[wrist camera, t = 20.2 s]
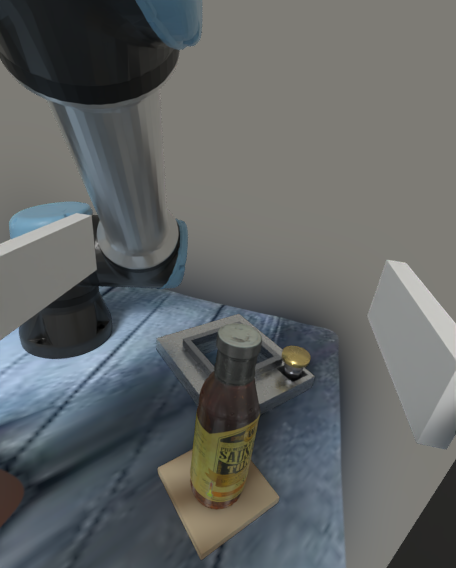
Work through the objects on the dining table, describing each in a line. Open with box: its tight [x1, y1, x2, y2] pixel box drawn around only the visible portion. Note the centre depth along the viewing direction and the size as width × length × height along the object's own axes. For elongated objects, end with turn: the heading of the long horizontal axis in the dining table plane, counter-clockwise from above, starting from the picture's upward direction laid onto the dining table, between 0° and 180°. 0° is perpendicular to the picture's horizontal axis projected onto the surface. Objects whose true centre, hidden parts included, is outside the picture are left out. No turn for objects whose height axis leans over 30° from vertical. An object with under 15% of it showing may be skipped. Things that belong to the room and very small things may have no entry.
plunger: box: [281, 346, 310, 382], centre depth 52 cm, size 4×4×4 cm
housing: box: [157, 314, 315, 415], centre depth 55 cm, size 21×18×4 cm
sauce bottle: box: [190, 323, 262, 510], centre depth 32 cm, size 7×6×20 cm
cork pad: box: [158, 450, 279, 560], centre depth 37 cm, size 10×10×1 cm
